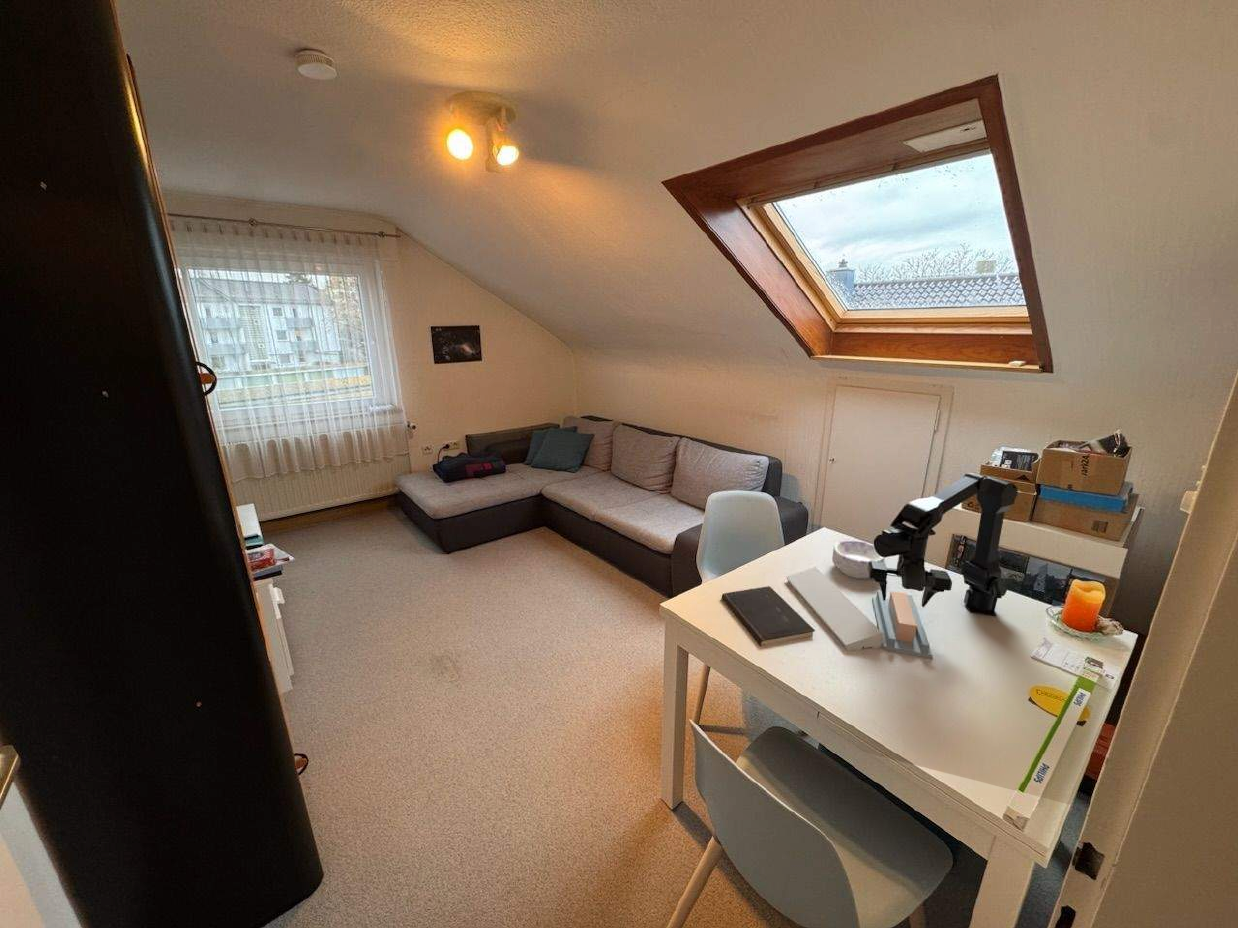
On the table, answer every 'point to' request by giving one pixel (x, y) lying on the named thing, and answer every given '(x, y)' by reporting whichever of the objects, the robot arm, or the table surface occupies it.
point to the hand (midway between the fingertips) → (903, 603)
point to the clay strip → (902, 617)
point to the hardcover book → (767, 615)
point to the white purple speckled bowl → (854, 557)
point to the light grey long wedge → (836, 610)
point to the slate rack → (890, 641)
